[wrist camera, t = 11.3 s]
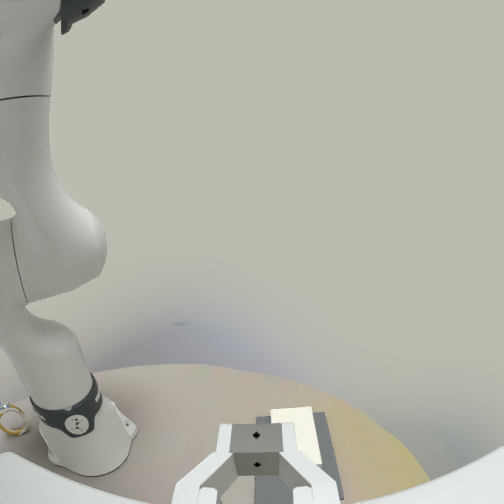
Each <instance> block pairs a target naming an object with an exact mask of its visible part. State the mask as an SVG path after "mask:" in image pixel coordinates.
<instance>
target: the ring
mask: <svg viewBox="0 0 504 504" xmlns="http://www.w3.org/2000/svg"><path fill="white" fill-rule="evenodd" d="M8 411H14V412H16V413H18V414H19V415H20V416H21V417H22V418H23V420H24V426H23V427H22V428H21V429H17V430H16V431H14V430H9V429H7V428H5V427H4V426H3V425H2V424H1V422H0V428H1V429H2V430H3V431H4V432H6V433H8V434H12V435H22V433H24V432H25V431H26V429H27V420H26V417H25V415H24V413H23V412H22V411H21V410H20V409H19V408H18V407H16V406H14V405H11V404H9V403H8V404H7V402H2V403H1V402H0V418H1V416H2V415H3V413H5V412H8Z"/></svg>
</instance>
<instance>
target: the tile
mask: <svg viewBox="0 0 504 504" xmlns="http://www.w3.org/2000/svg"><path fill="white" fill-rule="evenodd" d="M285 422H293V423H294V427H295V435H296V444H297V451H302V452H303V453H304V454H305V455H306V456H307V457H308V458H309V459H310V460H312V461H313V462H314V463H315V464H316V465H317V466H318V467H319V468H321V466H322V461H321V455H320V450H319V445H318V440H317V434H316V429H315V424H314V419H313V414H312V409H311V407H300V408H287V409H271V423H285Z"/></svg>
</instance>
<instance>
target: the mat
mask: <svg viewBox="0 0 504 504" xmlns="http://www.w3.org/2000/svg"><path fill="white" fill-rule="evenodd" d="M312 414H313V419H314V424H315V429H316V434H317V440H318V445H319V450H320V455H321V461H322V466H321V469H322V470H323V471H324V472H325V473H326V474H327V475H329V476H330V477H331V478H332V479H333V480H335V481H336V485H337V489H338V494H339V499H340V500H343V499H344V496H343V491H342V486H341V482H340V477H339V473H338V468H337V464H336V459H335V455H334V451H333V446H332V442H331V438H330V434H329V429H328V425H327V421H326V417H325V413H324V412H319V413H312ZM266 423H271V416H266V417H257V424H266ZM292 494H293V492H292V491H291V490H290V488H289V487H288V486H287V485H286V484H285V482H284V481H283V480H282V479H281V478H280V476H279V475H256V479H255V504H291V503H292Z"/></svg>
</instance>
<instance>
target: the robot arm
mask: <svg viewBox="0 0 504 504" xmlns="http://www.w3.org/2000/svg"><path fill="white" fill-rule="evenodd" d="M104 2H105V0H0V198H2V199H4V200H6V201H7V202H9V203H10V204H11V205H12V207H13V208H14V209H15V211H16V213H17V214H16V215H15V216H14V217H12V218H10V219H6V220H2V221H0V347H1V349H2V350H3V351H4V352H5V353H6V355H7V356H8V358H9V359H10V360H11V362H12V364H13V366H14V368H15V369H16V371H17V373H18V374H19V376H20V378H21V380H22V382H23V384H24V386H25V387H26V389H27V391H28V393H29V395H30V401H31V403H32V406H33V408H34V410H35V412H36V414H37V415H38V417H39V422H38V425H39V431H40V433H41V435H42V437H43V438H44V440H45V441H46V443H47V445H48V457H49V460H50V461H51V463H53V464H55V465H59V466H64V467H66V468H68V469H70V470H71V471H73V472H75V473H77V474H80V475H85V476H98V475H103V474H106V473H109V472H111V471H113V470H114V469H116V468H117V467H119V466H120V465H121V464H122V463H123V462H124V460H125V459H126V458H127V456H128V454H129V451H130V446H131V441H132V439H133V438H134V437H135V436H136V434H137V432H138V428H137V427H136V425H135V424H134V423H133V422H131V421H130V420H129V419H128V418H127V417H126V416H125V415H124V414H122V413H121V412H120V411H119V410H118V409H117V407H116V405H115V403H114V402H112V401H110V400H109V399H108V398H107V397H106V396H105V395H104V394H102V393H101V391H100V388H99V385H98V383H97V381H96V380H95V378H94V376H93V375H92V374H91V373H90V372H89V369H88V367H87V364H86V362H85V359H84V356H83V353H82V351H81V348H80V345H79V342H78V339H77V337H76V336H75V334H74V333H73V332H72V331H71V330H70V329H69V328H68V327H66V326H65V325H63V324H61V323H58V322H56V321H52V320H47V319H42V318H39V317H36V316H34V315H33V314H31V313H30V312H29V311H28V310H27V309H26V308H25V305H27V304H28V303H31V302H35V301H38V300H41V299H45V298H48V297H52V296H55V295H59V294H62V293H65V292H69V291H72V290H74V289H76V288H77V287H80V286H81V285H83V284H85V283H87V282H89V281H91V280H92V279H94V278H96V277H98V276H99V275H100V273H101V271H102V269H103V267H104V264H105V260H106V254H107V245H106V244H107V243H106V238H105V234H104V231H103V228H102V226H101V224H100V223H99V221H98V220H97V219H96V217H95V216H94V215H93V214H92V213H91V212H90V211H89V210H87V209H86V208H84V207H82V206H80V205H79V204H77V203H76V202H75V201H74V200H72V199H71V198H70V197H69V196H68V195H67V193H66V192H65V191H64V189H63V188H62V187H61V185H60V183H59V181H58V180H57V178H56V175H55V173H54V170H53V167H52V163H51V158H50V149H49V106H50V96H51V85H52V73H53V57H54V25H55V24H57V23H58V22H59V21H60V20H61V34H62V35H63V34H65V33H67V32H69V30H70V28H71V26H72V24H73V23H75V22H77V21H79V20H81V19H83V18H85V17H87V16H89V15H90V14H91V13H92V12H93V11H95V10H96V9H97V8H98V7H99V6H101V5H102V4H103V3H104ZM251 475H279V476H280V478H281V479H282V480H283V481H284V482H285V484H286V485H287V486H288V487H289V488H290V490H291V491H292V492H293V494H292V503H291V504H340V499H339V494H338V489H337V485H336V481H335V480H333V479H332V478H331V477H330V476H329V475H327V474H326V473H325V472H324V471H323V470H322V469H321V468H319V467H318V466H317V465H316V464H315V463H314V462H313V461H312V460H310V459H309V458H308V457H307V456H306V455H305V454H304V453H303V452H302V451H297V444H296V435H295V427H294V423H293V422H285V423H266V424H220V426H219V433H218V439H217V445H216V452H212V453H211V454H210V455H209V456H207V457H206V458H205V459H204V460H203V461H202V462H201V463H200V464H198V465H197V466H196V467H195V468H194V469H193V470H192V471H190V472H189V473H188V474H187V475H186V476H184V477H183V478H182V479H181V480H180V481H178V482H177V483H176V486H175V490H174V494H173V498H172V502H171V504H222V502H221V499H220V497H221V496H222V495H223V494H224V493H225V491H226V490H227V489H228V488H229V487H230V486H231V484H232V483H233V482H234V481H235V480H236V478H237V477H238V476H251ZM0 504H152V503H147V502H142V501H138V500H134V499H130V498H126V497H122V496H118V495H115V494H111V493H108V492H105V491H101V490H98V489H95V488H92V487H89V486H86V485H84V484H81V483H78V482H76V481H73V480H70V479H68V478H65V477H63V476H61V475H58V474H56V473H54V472H51V471H49V470H47V469H45V468H43V467H40V466H38V465H36V464H34V463H32V462H30V461H28V460H26V459H25V458H23V457H21V456H19V455H17V454H15V453H13V452H5V453H1V454H0ZM352 504H504V445H503V446H501V447H499V448H498V449H496V450H494V451H492V452H491V453H489V454H487V455H485V456H483V457H481V458H480V459H478V460H476V461H474V462H472V463H470V464H468V465H466V466H464V467H461V468H459V469H457V470H455V471H453V472H450V473H448V474H446V475H443V476H441V477H439V478H436V479H434V480H431V481H428V482H426V483H423V484H420V485H417V486H415V487H412V488H409V489H406V490H402V491H399V492H396V493H393V494H389V495H386V496H382V497H378V498H374V499H370V500H366V501H362V502H357V503H352Z"/></svg>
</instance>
